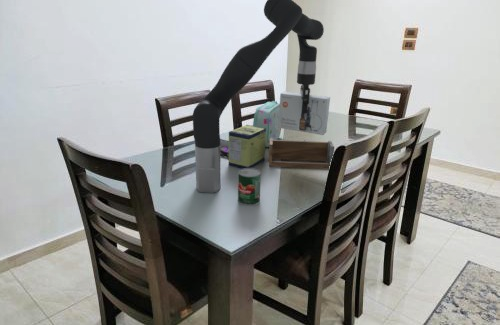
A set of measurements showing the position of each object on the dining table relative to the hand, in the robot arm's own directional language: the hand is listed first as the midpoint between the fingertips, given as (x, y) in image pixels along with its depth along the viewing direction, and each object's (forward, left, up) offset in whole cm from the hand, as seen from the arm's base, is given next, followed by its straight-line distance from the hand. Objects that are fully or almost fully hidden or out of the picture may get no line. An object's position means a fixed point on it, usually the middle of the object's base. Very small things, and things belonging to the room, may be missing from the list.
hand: (303, 111), depth 155 cm
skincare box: (0, 0, -9) cm, 9 cm away
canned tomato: (-40, +21, -24) cm, 51 cm away
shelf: (0, 0, -24) cm, 24 cm away
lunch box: (+31, +15, -24) cm, 42 cm away
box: (+14, +37, -25) cm, 46 cm away
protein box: (-2, +24, -24) cm, 34 cm away
